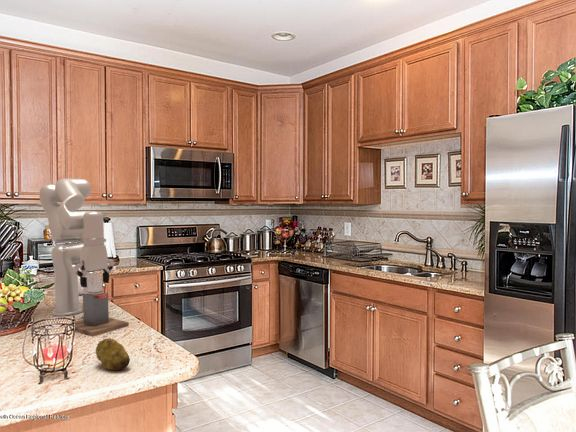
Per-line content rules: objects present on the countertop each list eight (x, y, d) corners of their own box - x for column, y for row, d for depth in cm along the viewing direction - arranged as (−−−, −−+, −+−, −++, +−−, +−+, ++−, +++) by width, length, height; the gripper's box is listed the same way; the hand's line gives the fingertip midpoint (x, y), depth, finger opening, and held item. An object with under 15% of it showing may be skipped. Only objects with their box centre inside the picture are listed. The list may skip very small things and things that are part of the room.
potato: (102, 376, 131) (102, 349, 130) (94, 363, 141) (93, 338, 141) (131, 370, 135) (131, 344, 135) (121, 357, 146) (120, 333, 146)
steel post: (88, 323, 180) (87, 275, 179) (97, 320, 184) (96, 273, 183) (94, 324, 178) (93, 276, 177) (104, 322, 181) (102, 274, 180)
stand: (63, 327, 180) (62, 294, 179) (99, 318, 193) (98, 287, 192) (92, 336, 169) (91, 301, 168) (128, 325, 182) (127, 293, 181)
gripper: (107, 240, 188) (108, 280, 189) (67, 244, 174) (69, 287, 175) (118, 241, 184) (119, 282, 185) (78, 245, 170) (80, 289, 171)
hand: (95, 284), depth 180 cm, fingers open, 9 cm apart
